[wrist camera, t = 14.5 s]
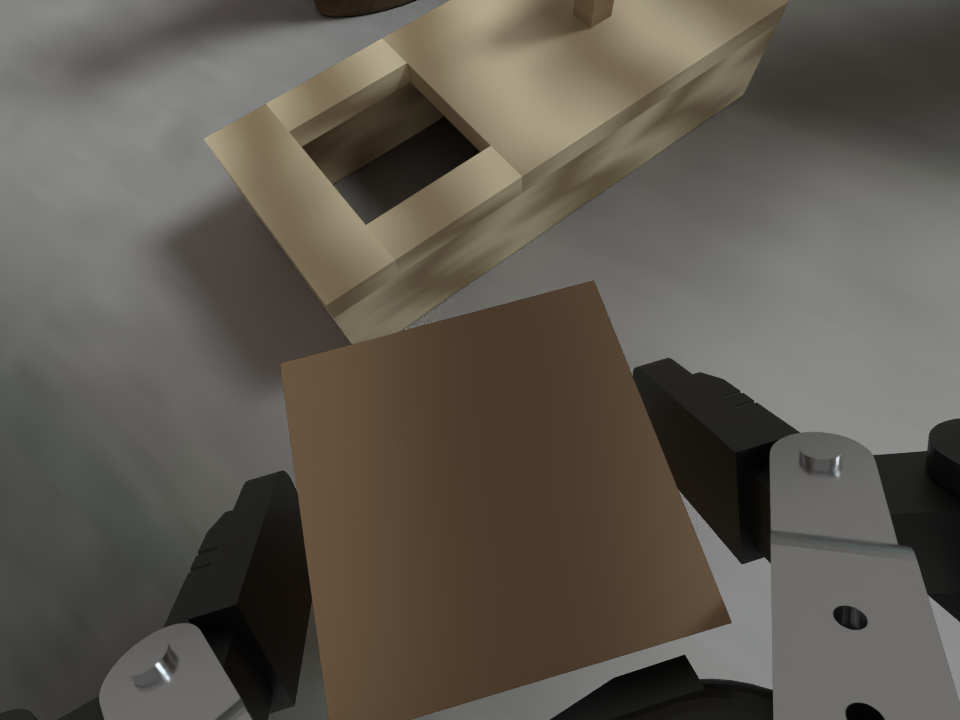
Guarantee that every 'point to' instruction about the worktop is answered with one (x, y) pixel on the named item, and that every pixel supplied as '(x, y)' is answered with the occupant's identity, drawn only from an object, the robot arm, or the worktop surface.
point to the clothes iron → (355, 6)
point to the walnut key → (486, 508)
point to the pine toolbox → (482, 136)
